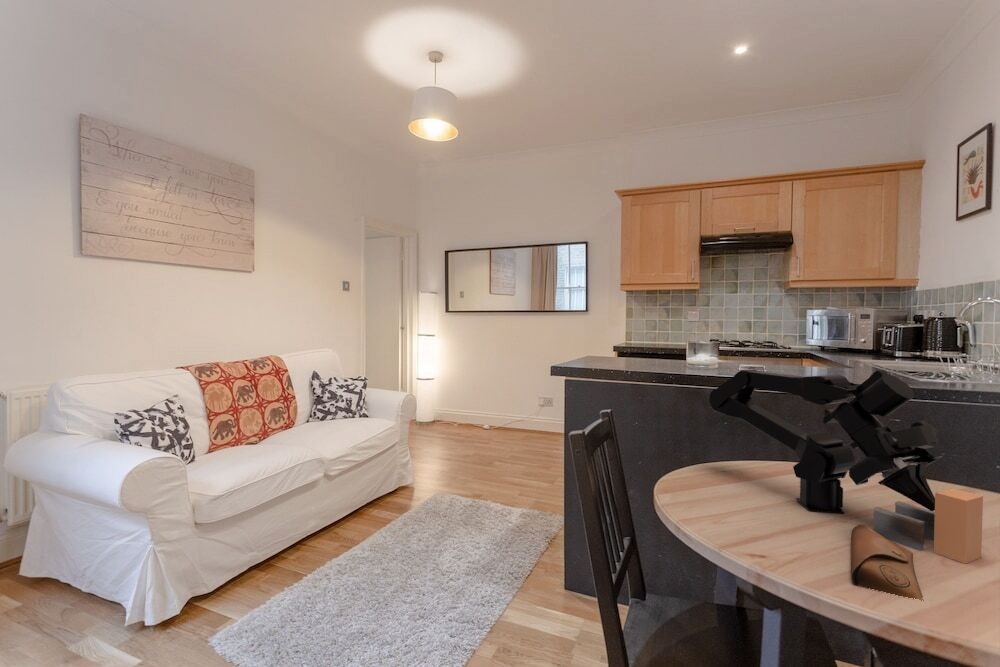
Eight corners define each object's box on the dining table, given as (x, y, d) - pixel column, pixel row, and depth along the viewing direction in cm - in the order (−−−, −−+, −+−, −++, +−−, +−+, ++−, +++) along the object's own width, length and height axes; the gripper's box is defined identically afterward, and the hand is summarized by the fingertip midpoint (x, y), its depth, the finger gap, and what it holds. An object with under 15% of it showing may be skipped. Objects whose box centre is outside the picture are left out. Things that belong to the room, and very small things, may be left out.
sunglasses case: (929, 604, 65) (897, 555, 67) (872, 614, 69) (844, 567, 70) (913, 552, 80) (888, 513, 82) (867, 562, 83) (843, 525, 85)
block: (933, 552, 79) (935, 492, 79) (950, 546, 81) (951, 488, 81) (965, 563, 75) (966, 500, 75) (981, 557, 77) (983, 496, 77)
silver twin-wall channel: (873, 534, 86) (873, 507, 86) (898, 527, 89) (898, 501, 89) (919, 552, 80) (920, 522, 80) (945, 543, 83) (946, 515, 83)
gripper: (869, 409, 81) (949, 496, 72) (930, 402, 89) (1010, 479, 79) (821, 444, 89) (887, 527, 79) (881, 434, 96) (949, 509, 87)
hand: (935, 509), depth 81 cm, fingers closed
